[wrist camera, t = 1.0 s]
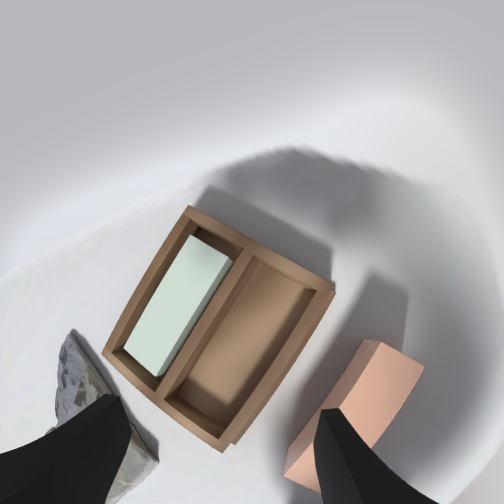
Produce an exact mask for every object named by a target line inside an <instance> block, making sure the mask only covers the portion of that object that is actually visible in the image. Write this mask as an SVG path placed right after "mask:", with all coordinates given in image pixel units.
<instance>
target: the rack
mask: <svg viewBox="0 0 504 504" xmlns="http://www.w3.org/2000/svg"><path fill="white" fill-rule="evenodd" d="M190 235H192V236H194V237H195V238H197V239H199V240H200V241H202V242H204V243H205V244H207V245H209V246H210V247H212V248H214V249H215V250H217V251H219V252H220V253H222V254H224V255H225V256H227V257H229V258H230V259H231V260H232V261H233V262H234V265H233V266H232V268H231V270H230V271H229V273H228V274H227V276H226V278H225V279H224V281H223V282H222V284H221V286H220V287H219V289H218V290H217V292H216V294H215V295H214V297H213V299H212V300H211V302H210V303H209V305H208V307H207V308H206V310H205V312H204V313H203V315H202V316H201V318H200V320H199V321H198V323H197V324H196V326H195V328H194V329H193V331H192V333H191V334H190V336H189V338H188V339H187V341H186V342H185V344H184V346H183V347H182V349H181V351H180V352H179V354H178V356H177V357H176V359H175V360H174V362H173V364H172V365H171V367H170V369H169V370H168V372H167V374H164V375H160V376H156V377H155V376H154V375H153V374H152V373H151V372H150V371H148V370H147V369H146V368H145V367H144V366H143V365H142V364H140V363H139V362H138V361H137V360H136V359H135V358H134V357H133V356H132V355H131V354H129V353H128V352H127V351H126V350H125V349H124V346H125V344H126V342H127V340H128V339H129V337H130V335H131V333H132V331H133V330H134V328H135V326H136V324H137V322H138V321H139V319H140V317H141V315H142V314H143V312H144V310H145V308H146V307H147V305H148V303H149V301H150V300H151V298H152V296H153V295H154V293H155V291H156V289H157V288H158V286H159V284H160V283H161V281H162V279H163V278H164V276H165V274H166V273H167V271H168V270H169V268H170V266H171V265H172V263H173V261H174V260H175V258H176V257H177V255H178V253H179V252H180V250H181V249H182V247H183V245H184V244H185V242H186V241H187V239H188V238H189V236H190ZM334 286H335V285H333V284H331V283H330V282H328V281H326V280H324V279H322V278H321V277H319V276H317V275H315V274H314V273H312V272H310V271H308V270H306V269H305V268H303V267H301V266H299V265H297V264H296V263H294V262H292V261H290V260H288V259H287V258H285V257H283V256H281V255H279V254H278V253H276V252H274V251H272V250H270V249H269V248H267V247H265V246H263V245H261V244H259V243H258V242H256V241H254V240H252V239H250V238H249V237H247V236H245V235H243V234H241V233H239V232H238V231H236V230H234V229H232V228H230V227H228V226H227V225H225V224H223V223H221V222H219V221H217V220H216V219H214V218H212V217H210V216H208V215H206V214H205V213H203V212H201V211H199V210H197V209H195V208H194V207H192V206H190V205H188V206H187V208H186V209H185V211H184V212H183V214H182V215H181V217H180V218H179V220H178V221H177V223H176V224H175V226H174V227H173V229H172V230H171V232H170V233H169V235H168V237H167V238H166V240H165V241H164V243H163V244H162V246H161V248H160V249H159V251H158V253H157V254H156V256H155V257H154V259H153V261H152V262H151V264H150V266H149V267H148V269H147V271H146V272H145V274H144V276H143V277H142V279H141V281H140V283H139V284H138V286H137V288H136V289H135V291H134V293H133V295H132V296H131V298H130V300H129V302H128V304H127V305H126V307H125V309H124V311H123V313H122V315H121V316H120V318H119V320H118V322H117V324H116V326H115V328H114V330H113V331H112V333H111V335H110V337H109V339H108V341H107V343H106V345H105V347H104V349H103V351H102V353H101V354H102V355H103V356H104V357H105V358H106V359H107V360H108V361H109V362H110V363H111V364H112V365H113V366H114V367H115V368H116V369H117V370H118V371H119V372H120V373H121V374H122V375H123V376H124V377H125V378H126V379H127V380H128V381H129V382H130V383H131V384H132V385H133V386H135V387H136V388H137V389H138V390H139V391H140V392H141V393H142V394H143V395H145V396H146V397H147V398H148V399H149V400H150V401H152V402H153V403H154V404H155V405H156V406H158V407H159V408H160V409H161V410H162V411H164V412H165V413H166V414H167V415H169V416H170V417H171V418H172V419H174V420H175V421H176V422H178V423H179V424H180V425H182V426H183V427H184V428H186V429H187V430H188V431H190V432H191V433H193V434H194V435H195V436H197V437H198V438H200V439H201V440H203V441H204V442H205V443H207V444H208V445H210V446H211V447H213V448H214V449H216V450H218V451H219V452H221V453H223V452H224V451H225V449H226V448H227V447H228V446H229V444H230V443H232V444H234V445H236V443H237V442H238V441H239V440H240V438H241V437H242V436H243V434H244V433H245V432H246V431H247V429H248V428H249V427H250V425H251V424H252V423H253V421H254V420H255V419H256V417H257V416H258V415H259V413H260V412H261V411H262V409H263V408H264V406H265V405H266V404H267V402H268V401H269V399H270V398H271V397H272V395H273V394H274V392H275V391H276V389H277V388H278V386H279V385H280V384H281V382H282V381H283V379H284V378H285V376H286V375H287V373H288V372H289V370H290V369H291V367H292V366H293V364H294V363H295V361H296V359H297V358H298V356H299V355H300V353H301V352H302V350H303V348H304V347H305V345H306V344H307V342H308V340H309V339H310V337H311V336H312V334H313V332H314V331H315V329H316V327H317V326H318V324H319V322H320V321H321V319H322V317H323V315H324V314H325V312H326V310H327V309H328V307H329V305H330V303H331V302H332V300H333V298H334V296H335V294H336V292H334V291H333V290H332V289H333V287H334Z"/></svg>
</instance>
